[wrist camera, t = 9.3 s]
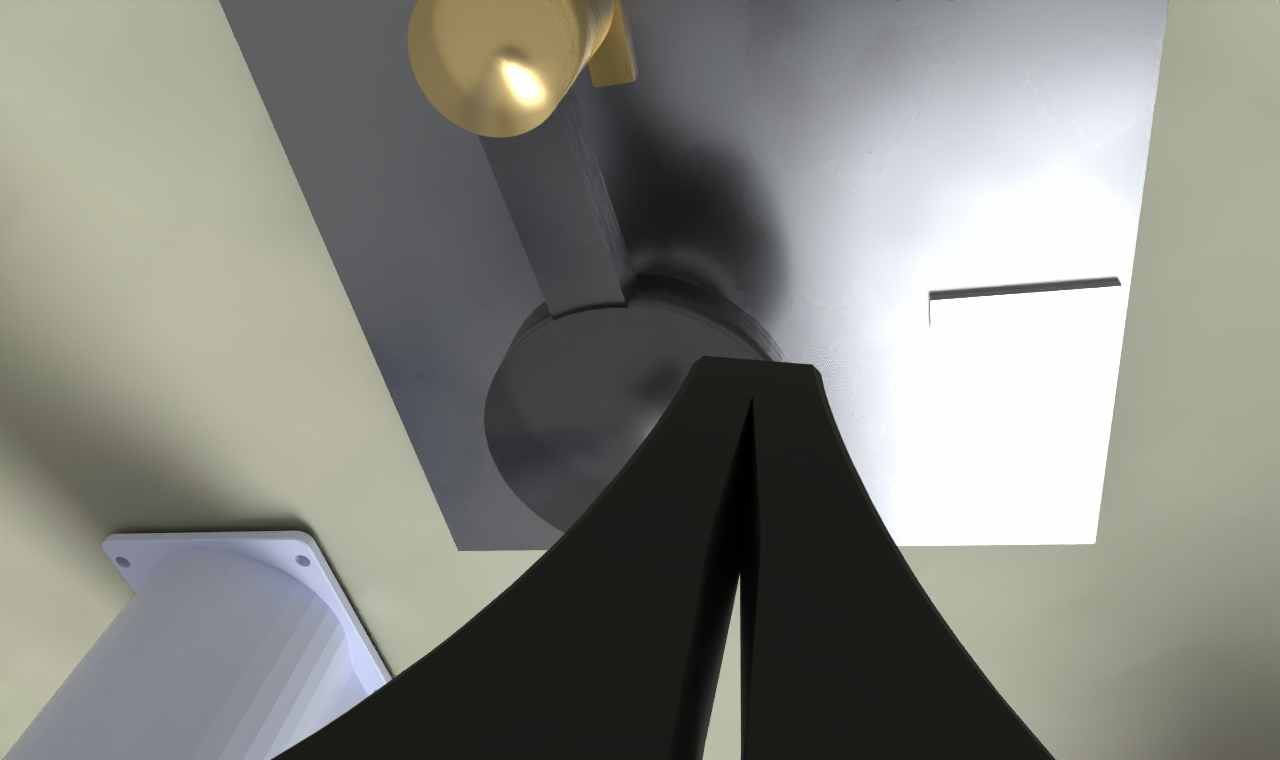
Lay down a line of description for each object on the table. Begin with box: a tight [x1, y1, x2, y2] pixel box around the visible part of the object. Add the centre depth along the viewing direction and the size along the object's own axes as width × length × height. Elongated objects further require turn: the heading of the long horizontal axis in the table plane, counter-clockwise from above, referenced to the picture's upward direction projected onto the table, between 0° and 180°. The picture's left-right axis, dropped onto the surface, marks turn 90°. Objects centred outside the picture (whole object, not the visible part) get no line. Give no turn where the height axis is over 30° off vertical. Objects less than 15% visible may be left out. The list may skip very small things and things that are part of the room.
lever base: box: [219, 0, 1169, 551], centre depth 19 cm, size 17×17×4 cm
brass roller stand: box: [408, 0, 787, 533], centre depth 17 cm, size 12×6×4 cm, turn 17°
